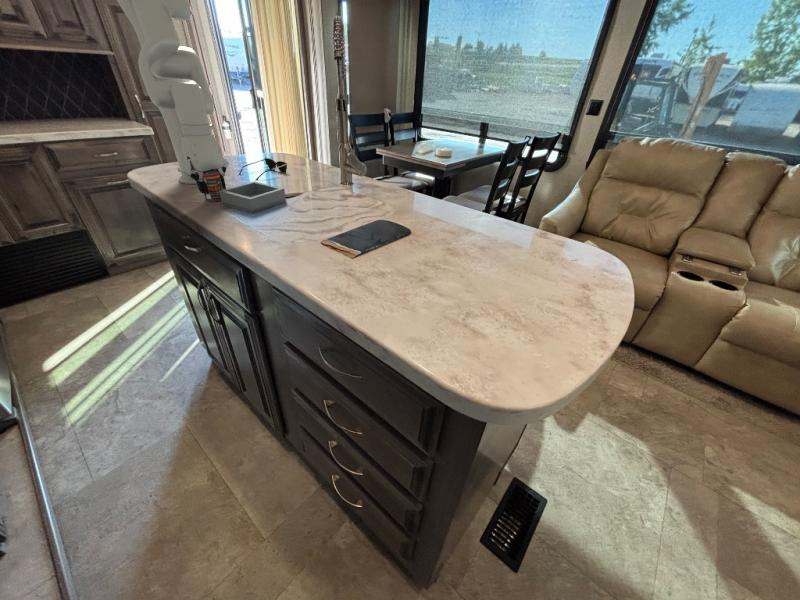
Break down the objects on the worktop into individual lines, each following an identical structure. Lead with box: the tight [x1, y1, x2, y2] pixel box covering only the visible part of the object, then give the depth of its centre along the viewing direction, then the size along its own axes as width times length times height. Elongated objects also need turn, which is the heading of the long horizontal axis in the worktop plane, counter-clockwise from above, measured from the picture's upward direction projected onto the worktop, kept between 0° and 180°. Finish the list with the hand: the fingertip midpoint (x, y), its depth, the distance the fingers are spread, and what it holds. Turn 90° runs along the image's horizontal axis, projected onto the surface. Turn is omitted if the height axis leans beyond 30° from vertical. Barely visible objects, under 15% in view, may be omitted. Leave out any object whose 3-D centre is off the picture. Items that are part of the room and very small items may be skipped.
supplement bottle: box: [203, 169, 224, 203], centre depth 107 cm, size 6×6×11 cm
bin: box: [219, 180, 287, 214], centre depth 108 cm, size 14×14×4 cm
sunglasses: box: [238, 157, 288, 181], centre depth 138 cm, size 14×16×5 cm
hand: (213, 190), depth 108 cm, fingers closed on supplement bottle, 6 cm apart
